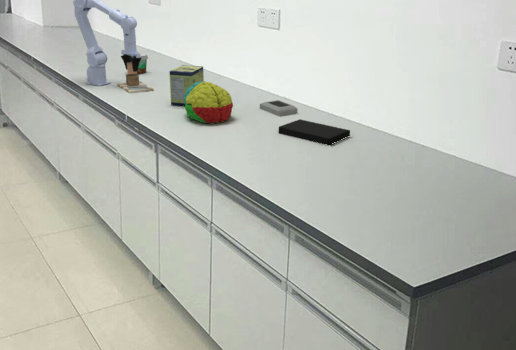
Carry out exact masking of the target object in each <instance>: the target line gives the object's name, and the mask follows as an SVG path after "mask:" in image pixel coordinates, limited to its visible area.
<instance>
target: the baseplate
mask: <svg viewBox="0 0 516 350" xmlns="http://www.w3.org/2000/svg"><path fill="white" fill-rule="evenodd" d="M139 76H140V74H139V75H137V74H128V73H127V74H125V82H117V83H116V85H117V86H118V87H120V88H121V89H123V91H125V92H127V93H128V94H133V93H134V94H135V93H145V92H153V91H154V88H153V87H151V86H149V85H148V84H146V83H144V82H142V81H140V77H139Z"/></svg>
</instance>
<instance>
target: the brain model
mask: <svg viewBox="0 0 516 350" xmlns="http://www.w3.org/2000/svg"><path fill="white" fill-rule="evenodd" d="M184 104H185V105H186V106H184V108H185V112H186V114H187V116H189V117H190V118H191V119H192V120H195V121H198V122H200V123H203V124H204V123H205V124H209V123H213V124H219V123H221V124H222V123H223V122H224V123H225V122H227V121H228V120H229V119H230V118H231V116H232V112H233V111H232V109H233V107H234V105H233V100H232V96H231V94H230V93H229V91H228V90H226V89H225V88H223V87H221V86H218V84H214V83H213V82H211V81H210V82H209V81H206V80H205V81H202V82H196V83H194V84H193V85H192V86H191V87H190V88H188V89H187V91H186V93H185V96H184Z"/></svg>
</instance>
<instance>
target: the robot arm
mask: <svg viewBox="0 0 516 350" xmlns="http://www.w3.org/2000/svg"><path fill="white" fill-rule="evenodd" d="M72 3H73V6H74V17H75V19H76V22H77V24H78V28H79V29H80V32H81V35H82V37H83V40H84V43H85V45H86V48H87V50H86V53H85V55H86V58H87V59H86V60H87V64H88V67H87V69H86V77H87V78H86V80H87V82H86V84H88V85H93V86H97V87H98V86H99V87H100V86H104V85H108V84H111V81H107V72H106V71H107V70H106V63H107V62H108V56H107V54H106V53H105V51H104V49H103V48H102V47H100V46H99V44H98V41H97V39H96V35H95V34H94V31H93V28H92V25H91V23H90V19H89V18H88V14H89V12H90V10H91V9H93V8H95V9H97V10H99V11H101V12H102V13H104V14H106V15H108V17H109V19H110V20H111V21H113V22H114V23H116V25H119V26H120V28H121V29H122V33H123V45H124V49H121V52H120V53H121V55H120V58H121V59H122V61H123V64H124V66H125V69H126V71H127V63H132V67H133V72H136V71H138V67H139V63H140V61H141V56H142V55H141V53H140V52H138V51H137V37H136V28H137V26H138V22H137V20H136V19H135V18H134V17H133V16H129V15H128V14H125V13H123V12H121V9H119V8H113V9H112V8H111V7H110V6H108V5H107V4H105V3H104V2H103V1H101V0H73V1H72ZM132 56H133V57H132Z"/></svg>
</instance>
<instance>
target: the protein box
mask: <svg viewBox="0 0 516 350" xmlns="http://www.w3.org/2000/svg"><path fill="white" fill-rule="evenodd" d="M204 79H205V78H204V66H199V65H189V64H188V65H185V64H182V65H179V66H178V67H176V68H173V69H171V70H169V86H170V87H169V90H170V92H169V93H170V105H171V106H173V107H175V106H176V107H185V106H186V105H185V104H184V96H185V93H186V91H187V89H188V88H190V87H191V86H192V85H193V84H194V83H196V82H202V81H204Z"/></svg>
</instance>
